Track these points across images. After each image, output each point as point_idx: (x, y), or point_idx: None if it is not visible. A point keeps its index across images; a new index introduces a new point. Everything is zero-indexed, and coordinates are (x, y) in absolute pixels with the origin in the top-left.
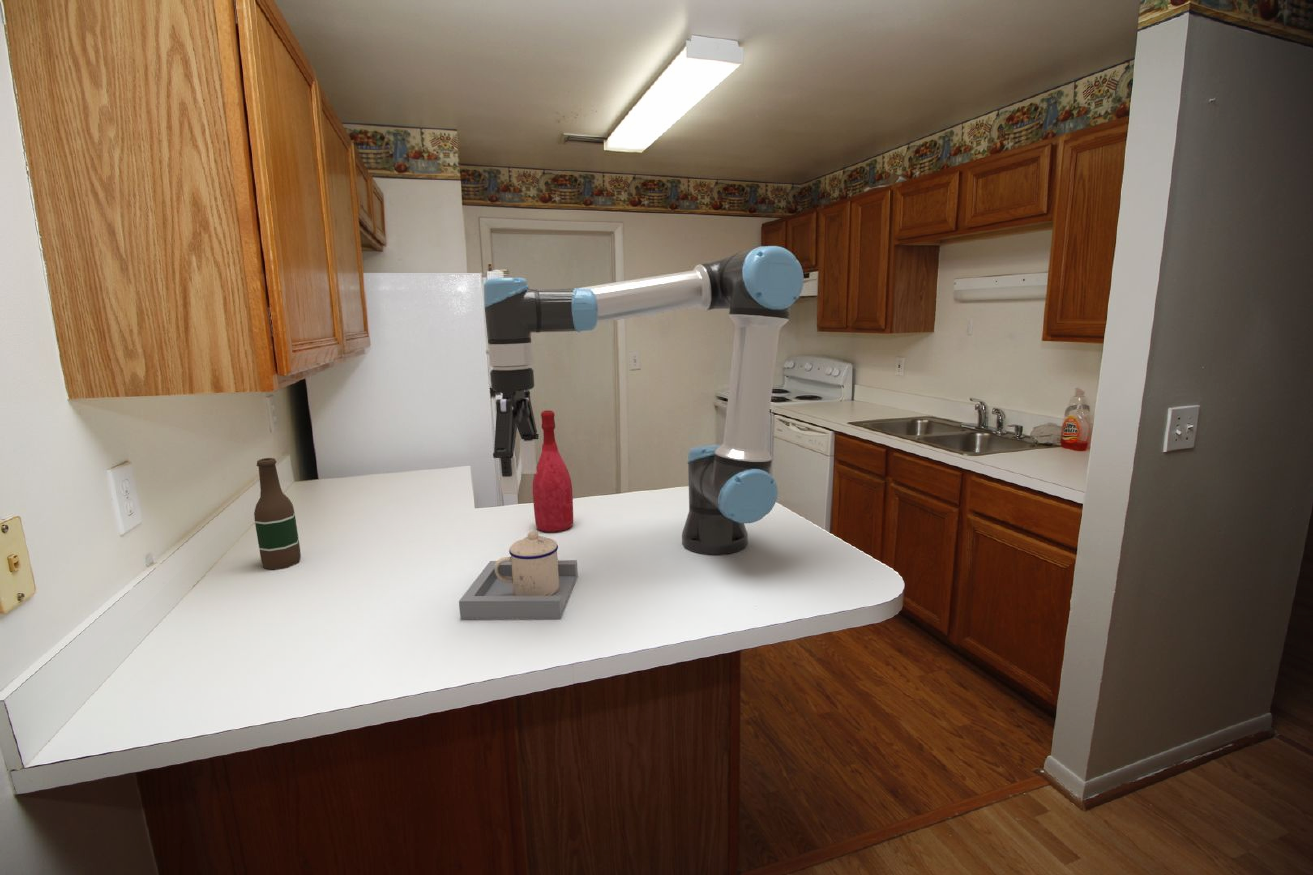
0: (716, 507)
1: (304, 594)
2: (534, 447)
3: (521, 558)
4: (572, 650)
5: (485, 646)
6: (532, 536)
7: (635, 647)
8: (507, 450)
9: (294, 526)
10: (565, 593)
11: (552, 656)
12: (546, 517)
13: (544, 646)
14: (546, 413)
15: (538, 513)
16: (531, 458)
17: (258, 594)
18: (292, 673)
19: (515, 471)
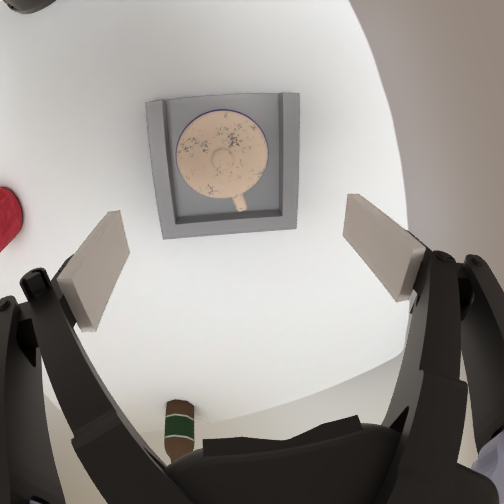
0: None
1: (234, 372)
2: (77, 259)
3: (266, 164)
4: (360, 75)
5: (350, 169)
6: (233, 157)
7: (352, 14)
8: (487, 269)
9: (174, 427)
10: (230, 98)
11: (371, 95)
12: (11, 222)
13: (353, 105)
14: None
15: (9, 237)
16: (104, 247)
17: (236, 393)
18: (364, 307)
19: (394, 222)
